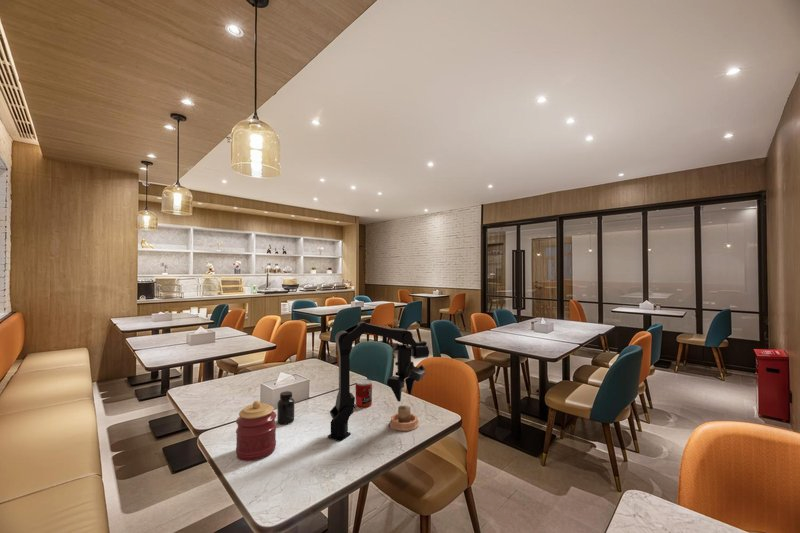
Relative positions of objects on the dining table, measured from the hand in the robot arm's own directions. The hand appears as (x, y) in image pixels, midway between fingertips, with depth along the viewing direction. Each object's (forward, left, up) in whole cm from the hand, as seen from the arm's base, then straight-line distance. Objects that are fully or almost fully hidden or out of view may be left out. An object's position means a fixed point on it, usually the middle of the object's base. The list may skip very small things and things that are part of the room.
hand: (404, 397), depth 139 cm
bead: (0, 0, -10) cm, 10 cm away
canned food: (+9, +27, -11) cm, 31 cm away
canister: (-44, +35, -11) cm, 57 cm away
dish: (0, 0, -11) cm, 11 cm away
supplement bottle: (-22, +45, -11) cm, 51 cm away
